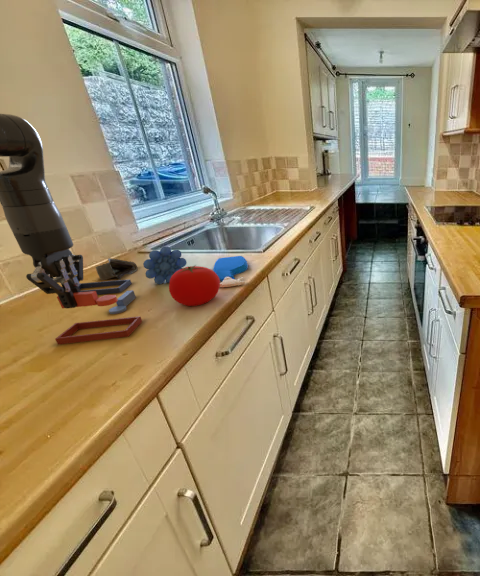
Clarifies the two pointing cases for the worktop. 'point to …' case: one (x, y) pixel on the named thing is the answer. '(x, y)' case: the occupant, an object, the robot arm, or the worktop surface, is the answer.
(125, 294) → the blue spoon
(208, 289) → the tomato
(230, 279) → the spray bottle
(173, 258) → the blue flower
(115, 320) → the red tray
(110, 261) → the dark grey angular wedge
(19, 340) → the worktop surface
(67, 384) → the worktop surface
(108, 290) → the blue tray
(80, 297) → the red long stepped block
